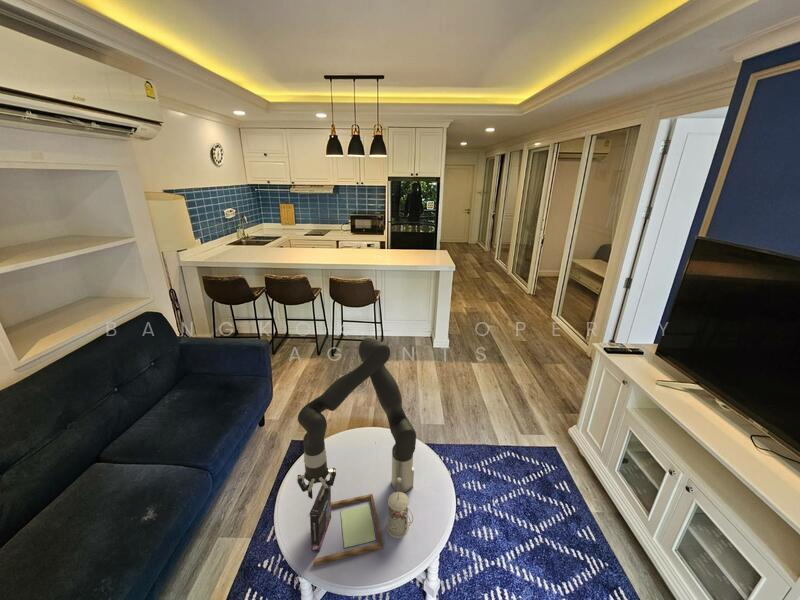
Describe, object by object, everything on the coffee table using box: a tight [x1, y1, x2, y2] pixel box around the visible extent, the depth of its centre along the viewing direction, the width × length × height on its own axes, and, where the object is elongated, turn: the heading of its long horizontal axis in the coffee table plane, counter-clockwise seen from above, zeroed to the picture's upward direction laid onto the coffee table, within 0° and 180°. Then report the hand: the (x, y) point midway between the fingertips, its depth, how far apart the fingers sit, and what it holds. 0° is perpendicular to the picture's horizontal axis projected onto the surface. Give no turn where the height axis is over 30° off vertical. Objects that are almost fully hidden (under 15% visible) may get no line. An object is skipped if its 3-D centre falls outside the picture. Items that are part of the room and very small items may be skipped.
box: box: [309, 484, 332, 553], centre depth 124 cm, size 14×4×20 cm, turn 173°
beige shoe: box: [385, 478, 414, 539], centre depth 125 cm, size 10×12×25 cm
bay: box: [313, 493, 384, 567], centre depth 129 cm, size 25×22×2 cm
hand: (318, 495), depth 120 cm, fingers open, 4 cm apart
